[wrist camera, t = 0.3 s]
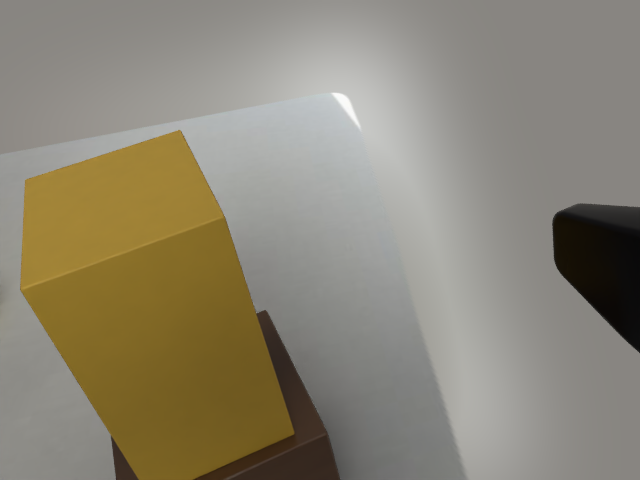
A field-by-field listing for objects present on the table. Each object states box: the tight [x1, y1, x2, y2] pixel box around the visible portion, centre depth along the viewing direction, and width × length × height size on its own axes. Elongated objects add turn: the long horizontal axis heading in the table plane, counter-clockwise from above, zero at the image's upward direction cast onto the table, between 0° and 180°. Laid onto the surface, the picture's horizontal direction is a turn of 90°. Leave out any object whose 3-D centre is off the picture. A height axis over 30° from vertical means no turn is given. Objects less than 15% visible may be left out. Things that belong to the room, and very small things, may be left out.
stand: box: [111, 310, 340, 480], centre depth 24 cm, size 7×7×7 cm
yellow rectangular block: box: [20, 130, 295, 480], centre depth 19 cm, size 5×6×9 cm
